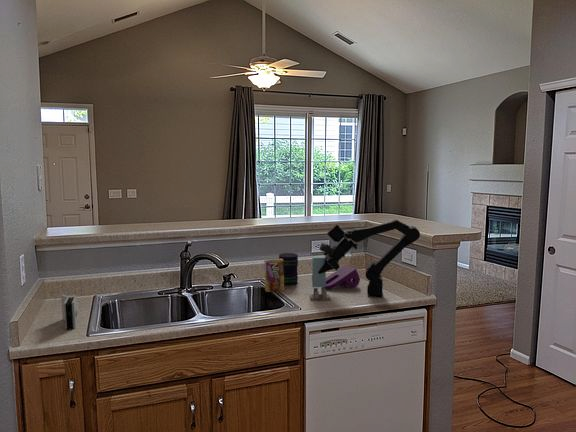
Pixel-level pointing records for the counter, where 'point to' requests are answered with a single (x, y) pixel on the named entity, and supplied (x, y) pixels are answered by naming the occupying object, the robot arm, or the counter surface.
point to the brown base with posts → (320, 295)
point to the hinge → (70, 311)
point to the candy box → (274, 275)
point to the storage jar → (290, 268)
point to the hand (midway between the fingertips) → (318, 272)
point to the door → (317, 278)
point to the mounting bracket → (343, 278)
